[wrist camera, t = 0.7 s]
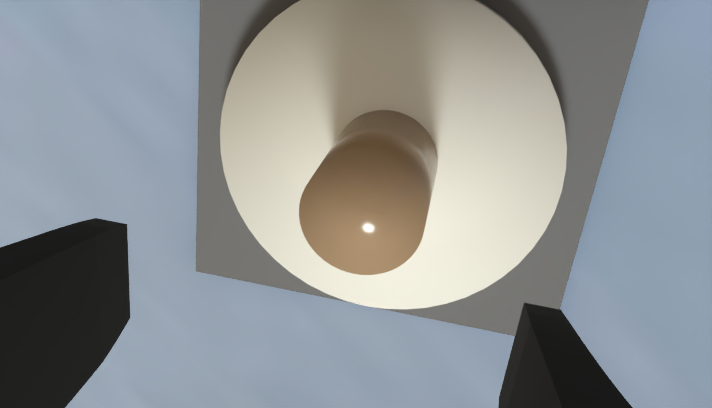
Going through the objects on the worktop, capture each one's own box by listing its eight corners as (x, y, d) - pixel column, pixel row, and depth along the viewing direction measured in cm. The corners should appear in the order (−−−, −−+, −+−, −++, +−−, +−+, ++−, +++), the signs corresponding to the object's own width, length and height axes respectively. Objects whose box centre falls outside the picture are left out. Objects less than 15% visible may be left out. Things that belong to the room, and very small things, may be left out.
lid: (606, 3, 17) (642, 37, 13) (521, 323, 22) (528, 427, 17) (235, -49, 19) (157, -35, 14) (224, 264, 23) (161, 347, 19)
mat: (648, -13, 17) (652, -11, 17) (548, 335, 22) (549, 343, 22) (207, -74, 19) (201, -74, 19) (200, 265, 24) (196, 271, 23)
